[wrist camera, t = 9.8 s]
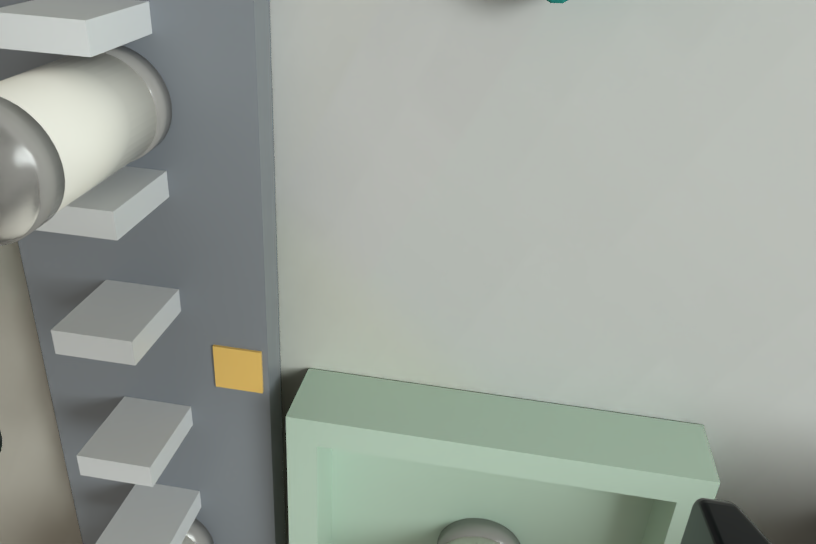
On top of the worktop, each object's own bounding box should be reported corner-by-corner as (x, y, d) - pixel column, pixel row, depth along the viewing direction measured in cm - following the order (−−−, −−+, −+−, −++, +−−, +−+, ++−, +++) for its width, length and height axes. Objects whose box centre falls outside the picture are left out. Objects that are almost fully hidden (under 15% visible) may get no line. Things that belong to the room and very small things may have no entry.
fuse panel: (267, -50, 19) (202, -34, 15) (287, 599, 31) (253, 695, 27) (-18, -72, 20) (-145, -62, 16) (107, 566, 32) (51, 656, 28)
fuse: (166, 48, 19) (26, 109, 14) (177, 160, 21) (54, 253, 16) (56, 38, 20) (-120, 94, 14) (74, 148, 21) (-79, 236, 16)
